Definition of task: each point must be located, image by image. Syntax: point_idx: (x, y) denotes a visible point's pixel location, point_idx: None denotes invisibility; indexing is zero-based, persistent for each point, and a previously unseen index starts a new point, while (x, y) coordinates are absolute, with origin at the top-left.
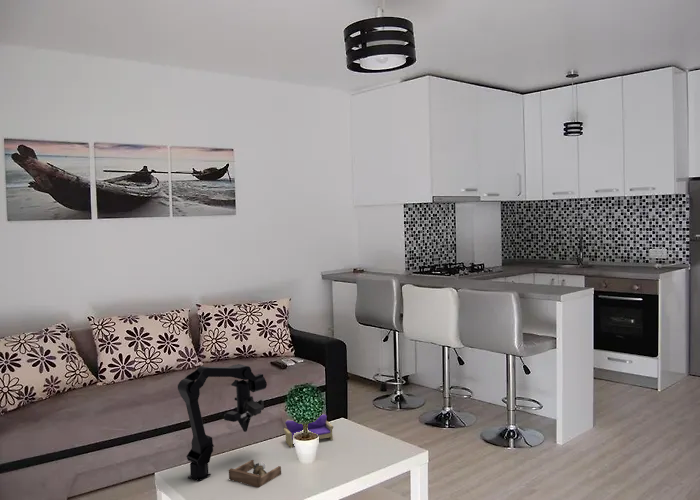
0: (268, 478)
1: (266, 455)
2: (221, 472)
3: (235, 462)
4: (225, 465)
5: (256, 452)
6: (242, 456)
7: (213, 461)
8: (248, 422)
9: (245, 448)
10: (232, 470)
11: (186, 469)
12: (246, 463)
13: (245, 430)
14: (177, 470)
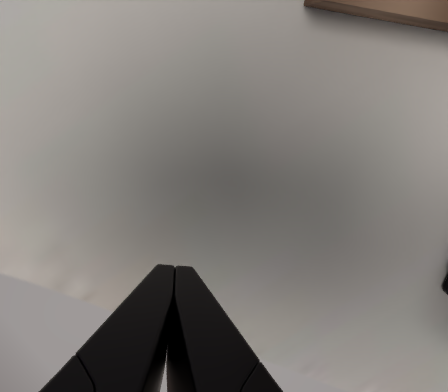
0: None
1: (36, 27)
2: (427, 176)
3: (255, 188)
4: (318, 219)
5: (29, 152)
6: (144, 205)
7: (279, 315)
8: (101, 378)
9: (12, 269)
10: None
11: (406, 364)
12: (417, 1)
13: (199, 278)
14: (422, 388)
